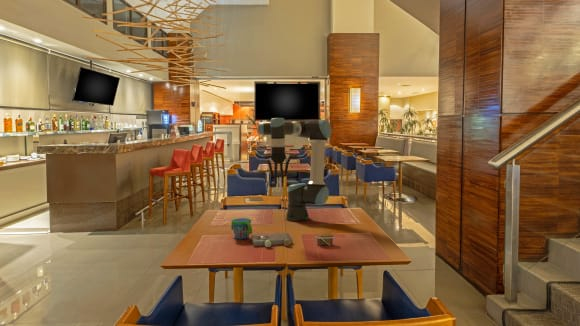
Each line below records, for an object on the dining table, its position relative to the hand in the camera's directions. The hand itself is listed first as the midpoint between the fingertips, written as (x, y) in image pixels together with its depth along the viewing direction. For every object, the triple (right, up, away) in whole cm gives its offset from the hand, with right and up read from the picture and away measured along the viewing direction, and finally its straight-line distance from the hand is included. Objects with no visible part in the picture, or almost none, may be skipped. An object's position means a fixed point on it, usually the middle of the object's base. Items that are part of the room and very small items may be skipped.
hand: (279, 189), depth 236 cm
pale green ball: (-5, -26, -17) cm, 32 cm away
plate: (-4, -27, -7) cm, 29 cm away
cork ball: (+5, -26, -16) cm, 31 cm away
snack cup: (-21, -27, +2) cm, 34 cm away
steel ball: (-8, -26, -8) cm, 28 cm away
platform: (+24, -28, -15) cm, 40 cm away
